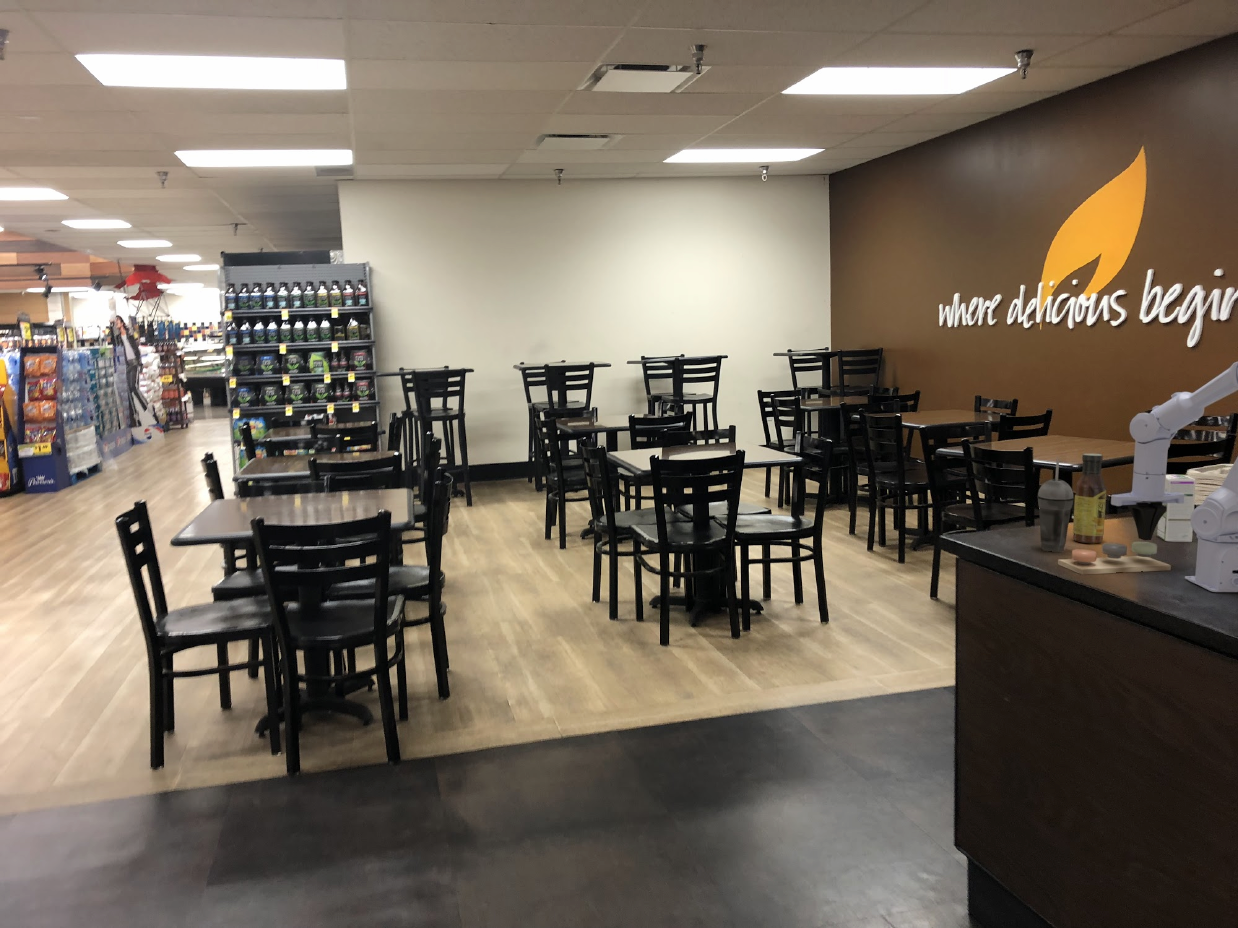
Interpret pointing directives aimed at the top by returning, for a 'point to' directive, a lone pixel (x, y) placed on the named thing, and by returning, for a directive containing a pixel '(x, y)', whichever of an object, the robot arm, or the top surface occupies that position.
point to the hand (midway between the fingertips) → (1144, 539)
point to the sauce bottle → (1090, 502)
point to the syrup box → (1178, 510)
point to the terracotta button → (1084, 556)
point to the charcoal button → (1114, 550)
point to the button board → (1115, 565)
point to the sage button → (1144, 548)
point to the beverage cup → (1054, 512)
